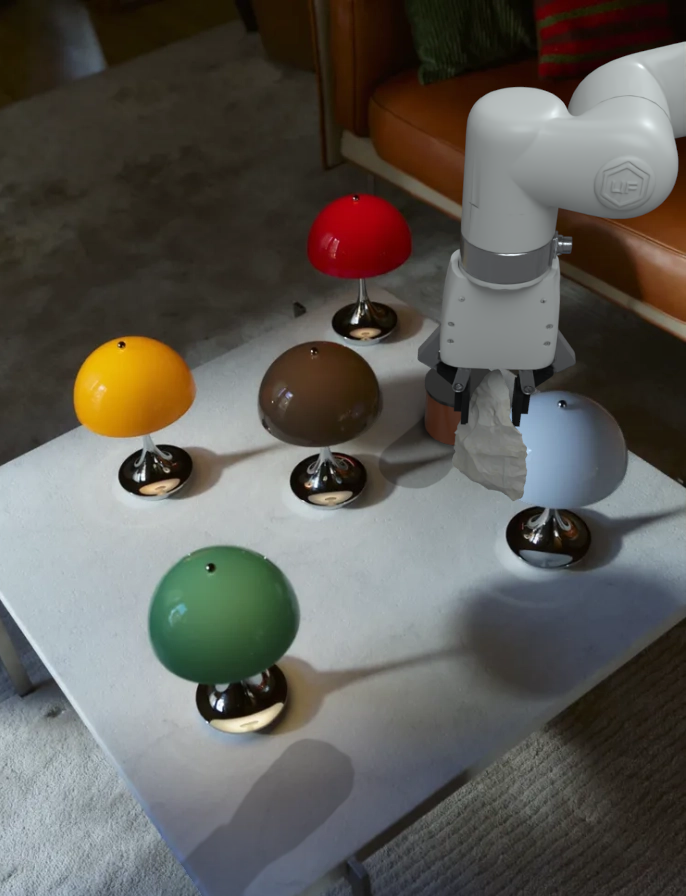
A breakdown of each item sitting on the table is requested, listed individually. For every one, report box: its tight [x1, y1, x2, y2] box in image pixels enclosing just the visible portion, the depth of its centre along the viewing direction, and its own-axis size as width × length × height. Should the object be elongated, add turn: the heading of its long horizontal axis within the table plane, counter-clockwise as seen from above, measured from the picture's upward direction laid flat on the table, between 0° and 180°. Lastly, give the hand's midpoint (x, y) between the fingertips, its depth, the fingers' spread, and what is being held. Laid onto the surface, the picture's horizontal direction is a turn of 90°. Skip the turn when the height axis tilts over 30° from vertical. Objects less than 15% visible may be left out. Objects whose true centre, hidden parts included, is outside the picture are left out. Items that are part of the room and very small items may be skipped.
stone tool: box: [451, 369, 528, 502], centre depth 92 cm, size 8×3×15 cm, turn 51°
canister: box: [424, 368, 492, 446], centre depth 130 cm, size 10×10×8 cm
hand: (489, 414), depth 91 cm, fingers closed on stone tool, 4 cm apart
